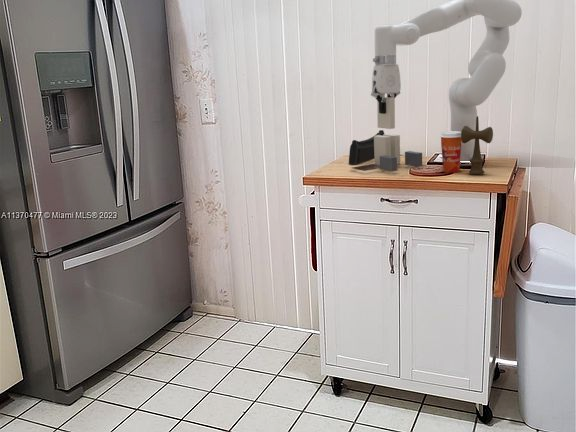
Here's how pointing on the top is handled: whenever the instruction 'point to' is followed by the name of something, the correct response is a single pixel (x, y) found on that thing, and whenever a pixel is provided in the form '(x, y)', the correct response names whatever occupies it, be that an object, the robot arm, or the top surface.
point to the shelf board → (368, 167)
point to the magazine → (362, 150)
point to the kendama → (476, 145)
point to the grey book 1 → (388, 163)
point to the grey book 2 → (413, 158)
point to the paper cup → (451, 151)
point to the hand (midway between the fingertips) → (385, 112)
